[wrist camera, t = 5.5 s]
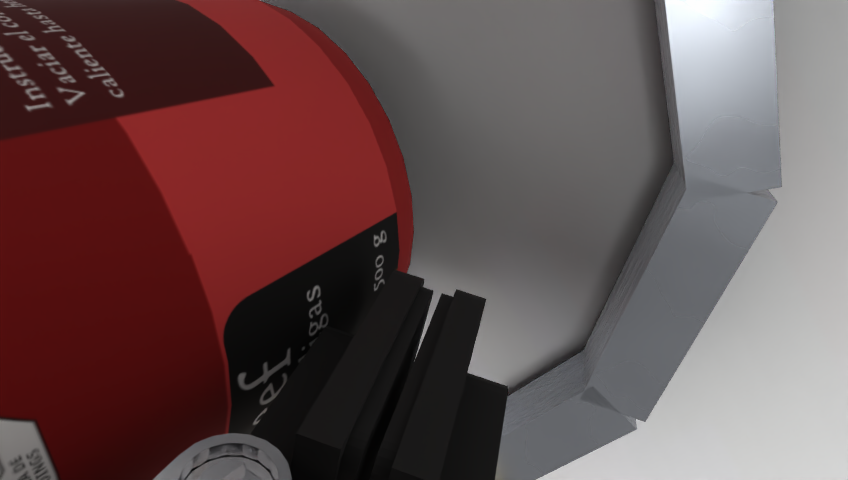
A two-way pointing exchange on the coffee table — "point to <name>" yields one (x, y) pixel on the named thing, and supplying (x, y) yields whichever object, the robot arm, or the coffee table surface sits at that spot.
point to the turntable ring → (668, 238)
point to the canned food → (177, 223)
